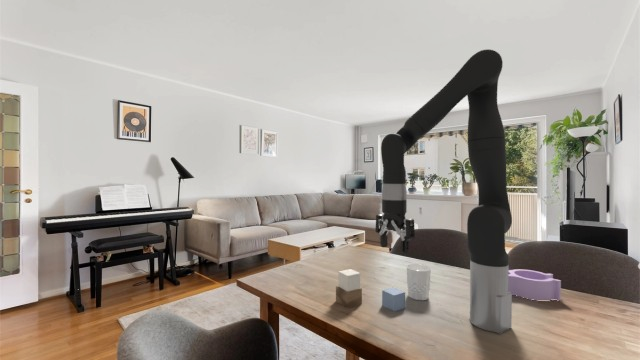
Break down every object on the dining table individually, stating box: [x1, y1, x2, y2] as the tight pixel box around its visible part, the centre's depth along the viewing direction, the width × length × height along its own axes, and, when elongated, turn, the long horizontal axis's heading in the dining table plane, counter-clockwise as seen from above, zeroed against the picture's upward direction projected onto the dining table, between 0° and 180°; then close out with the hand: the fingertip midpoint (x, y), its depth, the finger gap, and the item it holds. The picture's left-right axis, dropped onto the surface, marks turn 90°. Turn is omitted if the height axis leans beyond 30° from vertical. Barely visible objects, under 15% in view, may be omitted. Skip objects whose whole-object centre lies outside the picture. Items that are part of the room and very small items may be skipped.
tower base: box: [335, 285, 363, 309], centre depth 96 cm, size 6×6×5 cm
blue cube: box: [381, 286, 406, 312], centre depth 93 cm, size 5×5×5 cm
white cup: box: [406, 263, 432, 301], centre depth 101 cm, size 8×8×10 cm
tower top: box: [338, 268, 361, 292], centre depth 96 cm, size 5×5×5 cm
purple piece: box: [508, 268, 562, 300], centre depth 104 cm, size 20×12×7 cm, turn 70°
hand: (393, 249), depth 93 cm, fingers open, 8 cm apart
